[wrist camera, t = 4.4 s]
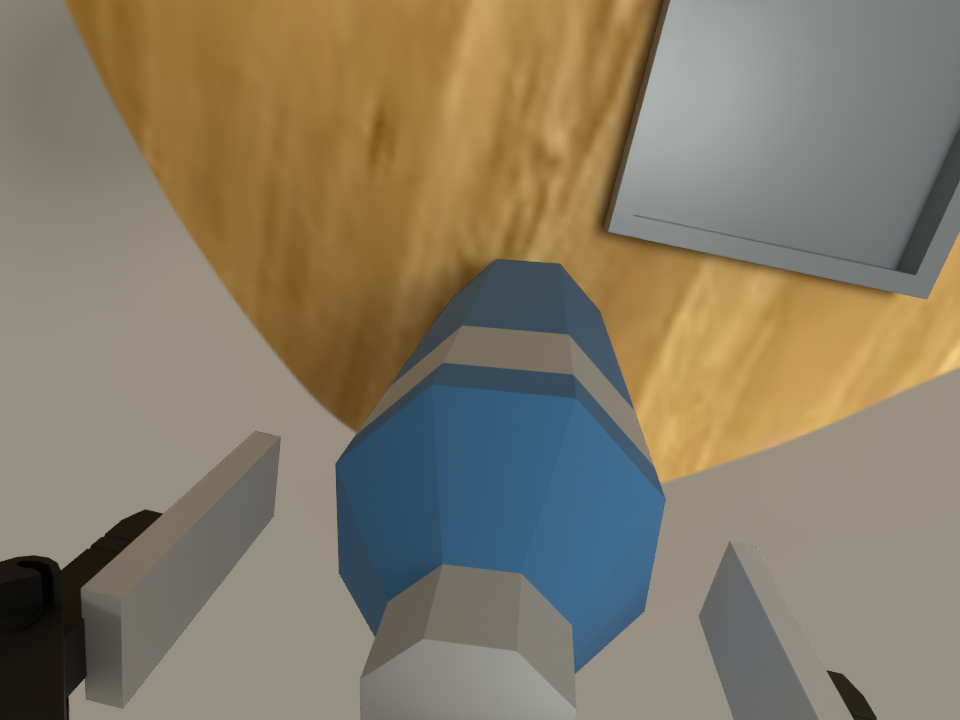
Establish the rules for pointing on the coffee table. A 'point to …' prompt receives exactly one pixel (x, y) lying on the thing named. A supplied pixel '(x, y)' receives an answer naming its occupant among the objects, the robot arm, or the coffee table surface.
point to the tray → (800, 137)
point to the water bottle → (498, 507)
